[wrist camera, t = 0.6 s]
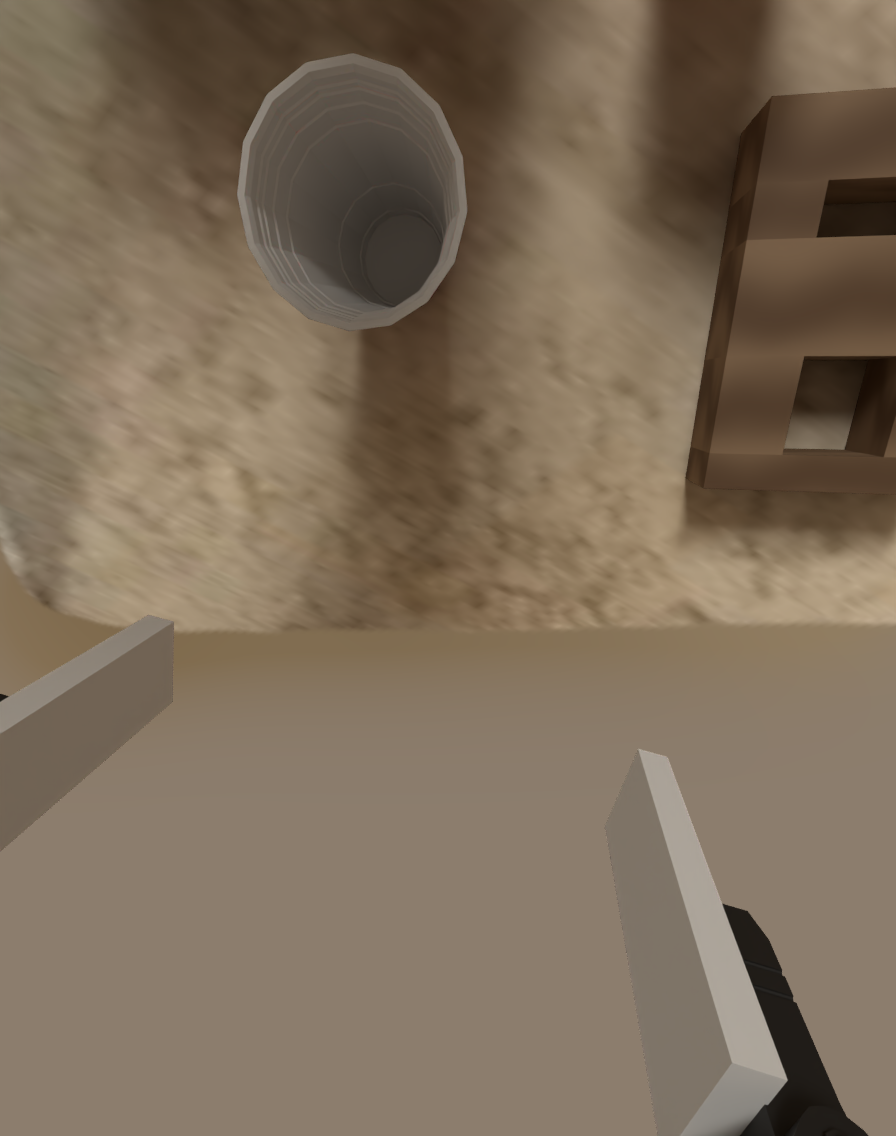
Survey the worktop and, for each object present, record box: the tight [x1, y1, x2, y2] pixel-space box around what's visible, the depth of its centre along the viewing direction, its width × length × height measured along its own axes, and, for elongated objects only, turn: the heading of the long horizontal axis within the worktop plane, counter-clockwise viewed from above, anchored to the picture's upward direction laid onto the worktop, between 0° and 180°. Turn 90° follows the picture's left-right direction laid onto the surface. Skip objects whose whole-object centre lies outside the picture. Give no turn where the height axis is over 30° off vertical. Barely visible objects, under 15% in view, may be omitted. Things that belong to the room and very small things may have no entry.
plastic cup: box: [237, 53, 467, 331], centre depth 29 cm, size 11×11×12 cm
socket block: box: [686, 88, 896, 494], centre depth 30 cm, size 20×14×4 cm
